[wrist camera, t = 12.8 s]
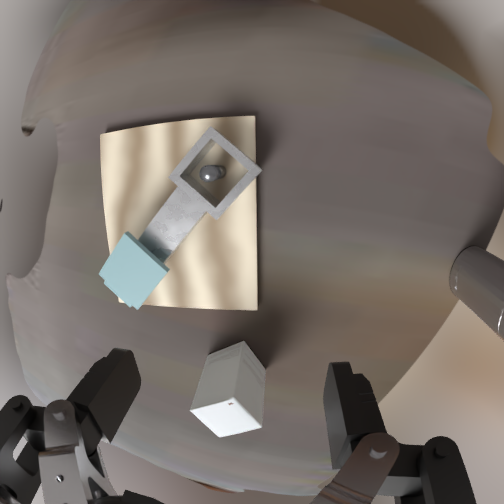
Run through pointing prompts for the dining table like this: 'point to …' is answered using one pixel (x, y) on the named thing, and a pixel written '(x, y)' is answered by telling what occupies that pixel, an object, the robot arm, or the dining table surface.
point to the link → (193, 197)
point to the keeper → (132, 271)
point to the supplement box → (231, 391)
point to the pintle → (212, 172)
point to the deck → (208, 229)
